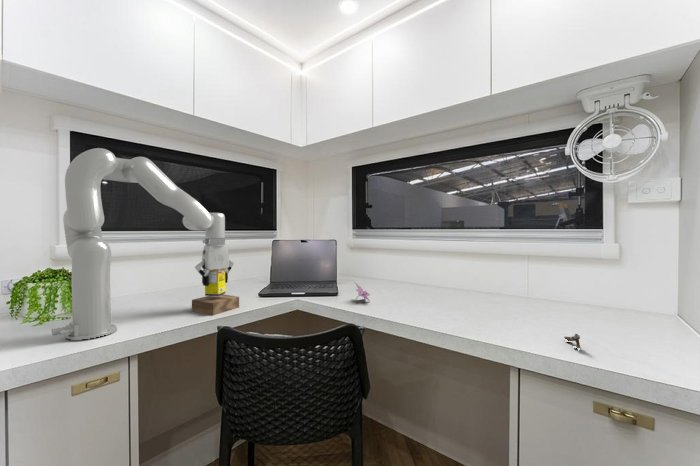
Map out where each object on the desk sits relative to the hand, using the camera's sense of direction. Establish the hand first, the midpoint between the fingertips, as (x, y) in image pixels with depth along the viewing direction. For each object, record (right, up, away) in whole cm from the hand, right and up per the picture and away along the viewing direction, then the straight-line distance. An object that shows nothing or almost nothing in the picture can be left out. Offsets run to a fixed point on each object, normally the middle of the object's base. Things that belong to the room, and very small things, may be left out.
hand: (215, 283), depth 129 cm
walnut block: (0, -11, 0) cm, 11 cm away
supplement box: (0, -5, 0) cm, 5 cm away
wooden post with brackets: (+123, -13, -39) cm, 129 cm away
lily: (+62, -11, +14) cm, 65 cm away
